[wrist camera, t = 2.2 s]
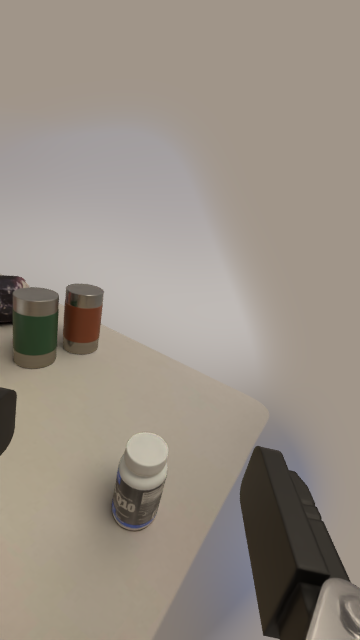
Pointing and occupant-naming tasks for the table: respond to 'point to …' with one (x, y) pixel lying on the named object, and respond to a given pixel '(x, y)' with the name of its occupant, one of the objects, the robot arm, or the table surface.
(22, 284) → the mineral specimen
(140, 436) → the pill bottle
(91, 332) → the can rust
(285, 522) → the robot arm
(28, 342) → the can green
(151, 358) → the table surface
